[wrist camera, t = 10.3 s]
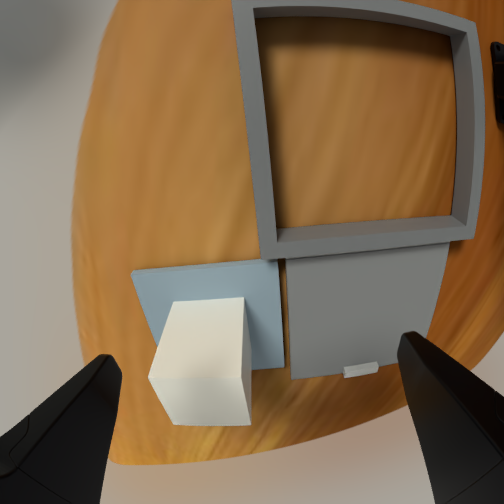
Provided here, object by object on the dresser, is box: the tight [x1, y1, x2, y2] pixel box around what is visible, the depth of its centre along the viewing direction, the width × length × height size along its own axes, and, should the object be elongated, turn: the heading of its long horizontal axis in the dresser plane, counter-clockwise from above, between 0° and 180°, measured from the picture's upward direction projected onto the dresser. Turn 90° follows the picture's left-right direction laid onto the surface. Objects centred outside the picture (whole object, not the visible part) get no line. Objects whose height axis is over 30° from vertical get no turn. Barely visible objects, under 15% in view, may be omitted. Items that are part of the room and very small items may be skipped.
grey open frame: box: [231, 0, 485, 380], centre depth 17 cm, size 15×27×2 cm, turn 6°
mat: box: [131, 259, 284, 370], centre depth 22 cm, size 10×10×1 cm
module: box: [148, 297, 252, 426], centre depth 19 cm, size 5×5×7 cm
